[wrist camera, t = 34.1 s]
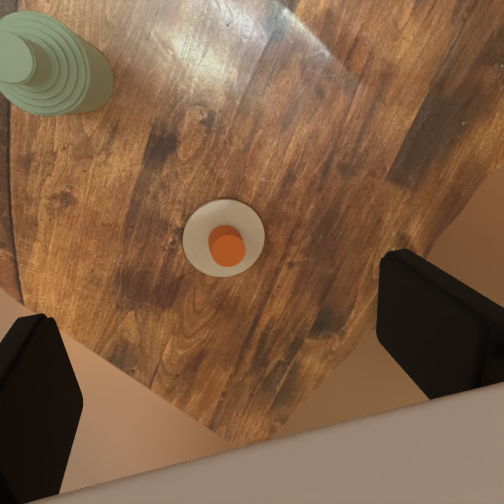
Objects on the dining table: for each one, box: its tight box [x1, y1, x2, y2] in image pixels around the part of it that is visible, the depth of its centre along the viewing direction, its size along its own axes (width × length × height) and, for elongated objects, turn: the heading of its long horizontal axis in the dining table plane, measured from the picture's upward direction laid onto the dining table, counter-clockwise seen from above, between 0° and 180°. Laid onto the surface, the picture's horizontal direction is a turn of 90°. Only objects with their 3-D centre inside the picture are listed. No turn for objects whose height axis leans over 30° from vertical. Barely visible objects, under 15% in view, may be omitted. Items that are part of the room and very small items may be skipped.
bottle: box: [0, 11, 114, 117], centre depth 28 cm, size 6×6×18 cm
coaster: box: [183, 198, 265, 277], centre depth 44 cm, size 10×10×1 cm
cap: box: [208, 225, 246, 267], centre depth 42 cm, size 4×4×4 cm
